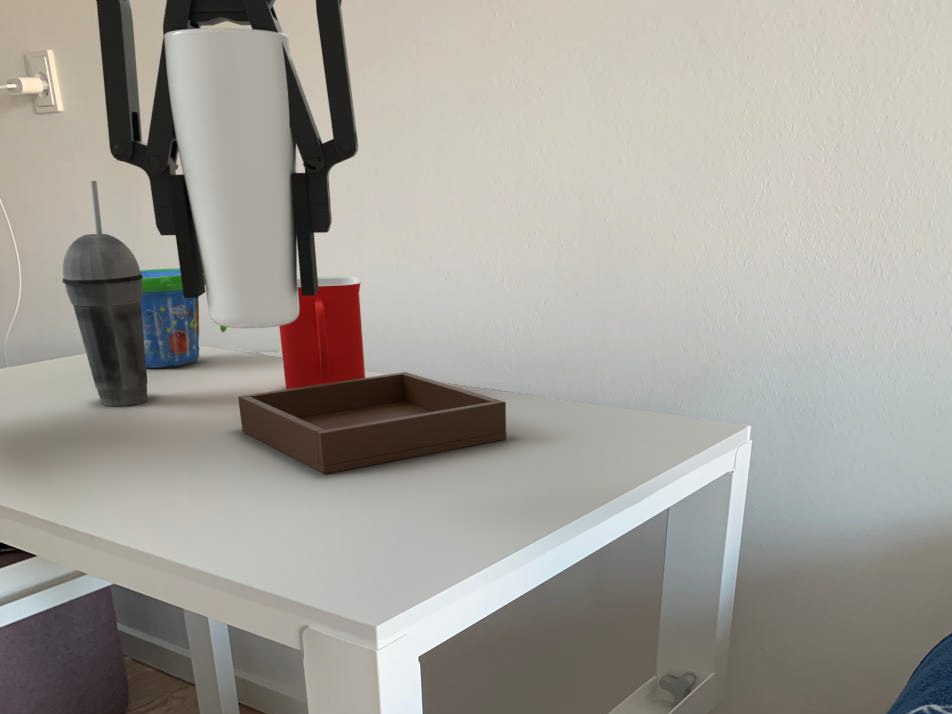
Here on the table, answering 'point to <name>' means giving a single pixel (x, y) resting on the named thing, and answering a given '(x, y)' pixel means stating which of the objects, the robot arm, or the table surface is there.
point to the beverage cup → (108, 312)
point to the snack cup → (169, 320)
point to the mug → (325, 335)
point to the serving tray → (371, 420)
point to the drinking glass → (238, 169)
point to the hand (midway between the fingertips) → (252, 293)
